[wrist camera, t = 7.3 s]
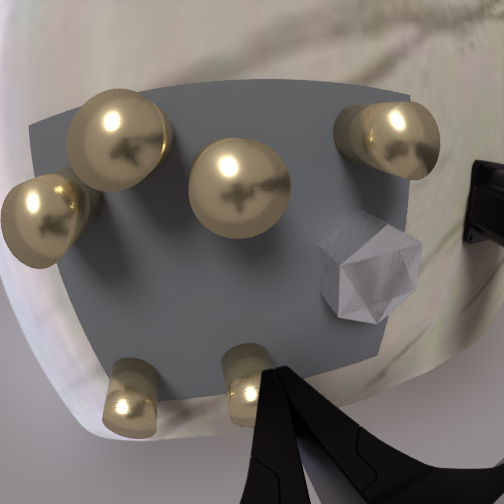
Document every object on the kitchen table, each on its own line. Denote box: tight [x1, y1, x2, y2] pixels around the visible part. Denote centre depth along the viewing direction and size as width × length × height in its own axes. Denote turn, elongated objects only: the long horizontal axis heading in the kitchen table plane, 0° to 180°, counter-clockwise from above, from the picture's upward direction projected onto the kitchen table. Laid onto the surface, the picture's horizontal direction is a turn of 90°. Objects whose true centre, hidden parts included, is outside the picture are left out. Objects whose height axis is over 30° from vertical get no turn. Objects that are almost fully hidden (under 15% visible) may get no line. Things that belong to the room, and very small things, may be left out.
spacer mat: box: [29, 79, 410, 401], centre depth 14 cm, size 19×18×1 cm
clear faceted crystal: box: [318, 209, 422, 324], centre depth 14 cm, size 6×5×2 cm
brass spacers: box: [1, 89, 440, 439], centre depth 12 cm, size 16×16×4 cm
